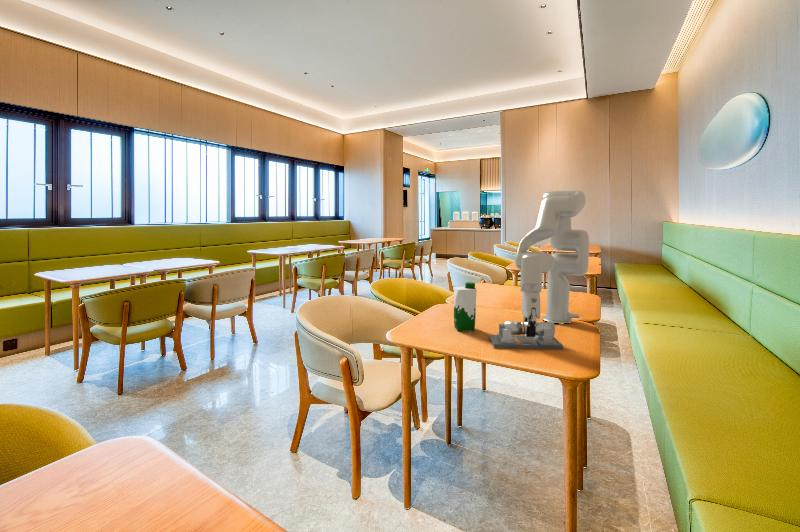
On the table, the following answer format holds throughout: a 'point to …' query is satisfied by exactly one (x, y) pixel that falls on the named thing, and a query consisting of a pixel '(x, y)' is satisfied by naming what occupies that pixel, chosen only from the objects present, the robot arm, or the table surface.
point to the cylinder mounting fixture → (524, 340)
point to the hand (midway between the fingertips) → (528, 333)
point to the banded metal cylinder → (521, 327)
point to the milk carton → (465, 307)
